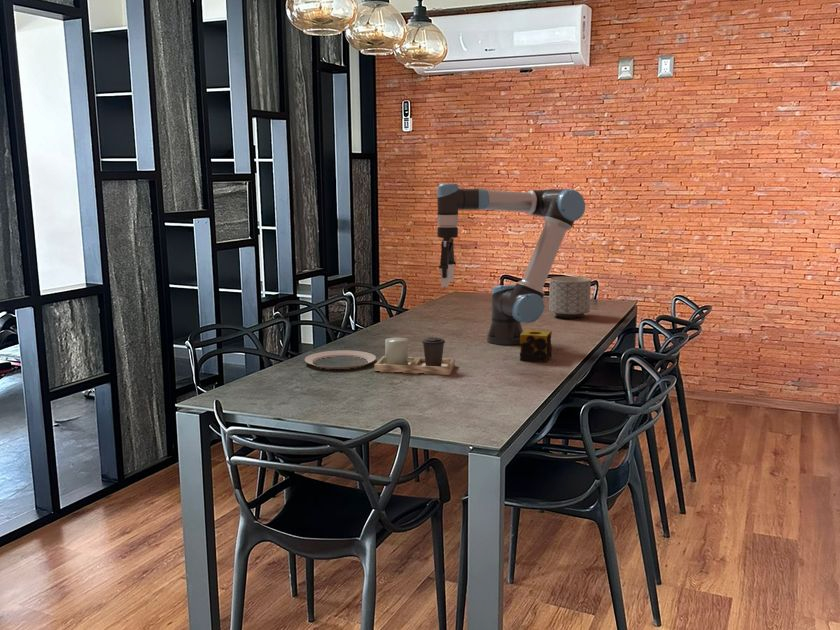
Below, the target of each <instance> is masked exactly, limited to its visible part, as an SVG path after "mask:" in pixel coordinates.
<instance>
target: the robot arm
mask: <svg viewBox="0 0 840 630" xmlns="http://www.w3.org/2000/svg"><path fill="white" fill-rule="evenodd" d="M436 197H437V200H436V201H437V216H436V217H435V220H436V221H437V226H438V227H437V228H436V229H437V233H436V234H437V235H436V236H437V238H442V239H443V240H442V241H441V248H440V249H441V250H440V261H439V262H440V265H439V266H438V269H439V270H440V287H442V288H448V287H449V285H450V283H454V281H455V280H454V279H455V278H454V274H455V273H454V272H455V271H454V270H455V269H454V266H455V265H456V264H457V263H456V260H455V251H454V250H455V249H454V244H455V242H454V240H455V239H454V238H458V237H459V227H458V226H459V211H462V210H463V211H464V210H465V211H466V210H470V211H471V210H472V211H473V210H477V211H480V210H486V211H502V212H503V211H505V212H523V213H524V212H525V213H526V214H527V215H531V216H532V215H533V216H540V217H543V220H544V225H543V227H542V230H541V233H540V235H539V238H538V239H537V240H538V241H536V242H537V243H536V244H535V247H534V250H533V252H532V254H531V257H530V259H529V262H528V264H527V267H526V269H525V272H524V274H523V277H522V279H521V280H519V281H517V282H516V283H515V284H506V285H505V284H504V285H494V286H493V287H492V290H491V323H490V326H489V327H488V328H489V329H488V332H487V335H486V342H488V343H490V344H492V345H493V344H494V345H499V346H500V345H501V346H502V345H503V346H504V345H505V346H511V345H512V346H513V345H520V334H521V333H523V332H524V330H523V327H522V324H521V323H525V324H531V323H534V322H536V321H538V320H539V319H540V318H541V317H542V315H543V314H544V311H545V303H544V300H543V299H544V297H545V291H544V285H545V283H546V281H547V279H548V276H549V274H550V272H551V269H552V266H553V264H554V261H555V259H556V257H557V254H558V252H559V249H560V247H561V245H562V242H563V240H564V237H565V235H566V233H567V232H568V231H569V230H571V229H573V226H574V223H575V221H578V220H579V219H581V218H582V217H583V216H584V213H585V211H586V210H585V209H586V202H585V199H584V196H583V195H582V194H581V193H580V192H579V191H578V190H576V189H575V190H574V189H570V188H563V189H561V188H549V189H542V190H541V189H539V190H536V189H535V190H533V189H532V190H528V191H527V192H524V191H523V192H522V191H507V190H505V191H504V190H489V189H485V188H459V185H458V184H457V183H440V184H438V186H437V196H436Z"/></svg>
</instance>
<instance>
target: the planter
mask: <svg viewBox="0 0 840 630" xmlns="http://www.w3.org/2000/svg"><path fill="white" fill-rule="evenodd" d="M591 283H592V282H591V278H588V277H584V276H554V277H550V278H549V294H548V295H549V297H548V298H549V299H548V311H549V312H552V313H553V314H555V315H556V316H558V317H560V318H562V317H565V318H564V319H577V318H576V317H578V318H579V317H581V316H583V315H585V314H588V313H590V310H591V288H592V287H591Z"/></svg>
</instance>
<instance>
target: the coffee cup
mask: <svg viewBox="0 0 840 630" xmlns="http://www.w3.org/2000/svg"><path fill="white" fill-rule="evenodd" d="M421 343H422V345H423V354H424V358H425V363H426V366H439V367H441V365H442V358H443V355H444V344H445V343H446V341H445V339H443V338H440V337H427V338H425V339H422V341H421Z"/></svg>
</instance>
